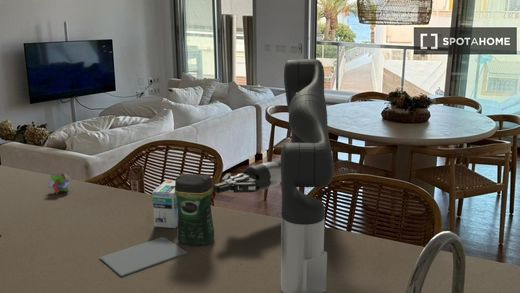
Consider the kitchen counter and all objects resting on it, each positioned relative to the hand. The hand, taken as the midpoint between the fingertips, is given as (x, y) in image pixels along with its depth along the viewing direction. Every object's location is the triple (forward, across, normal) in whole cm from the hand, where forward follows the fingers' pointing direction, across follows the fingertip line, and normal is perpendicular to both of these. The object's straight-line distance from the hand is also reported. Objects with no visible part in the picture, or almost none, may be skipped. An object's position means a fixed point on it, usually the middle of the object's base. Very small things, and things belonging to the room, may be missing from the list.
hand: (215, 189), depth 137 cm
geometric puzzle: (+21, -62, +13) cm, 67 cm away
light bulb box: (+5, -16, +13) cm, 21 cm away
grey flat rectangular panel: (+22, -1, +13) cm, 25 cm away
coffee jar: (+7, 0, +13) cm, 15 cm away
